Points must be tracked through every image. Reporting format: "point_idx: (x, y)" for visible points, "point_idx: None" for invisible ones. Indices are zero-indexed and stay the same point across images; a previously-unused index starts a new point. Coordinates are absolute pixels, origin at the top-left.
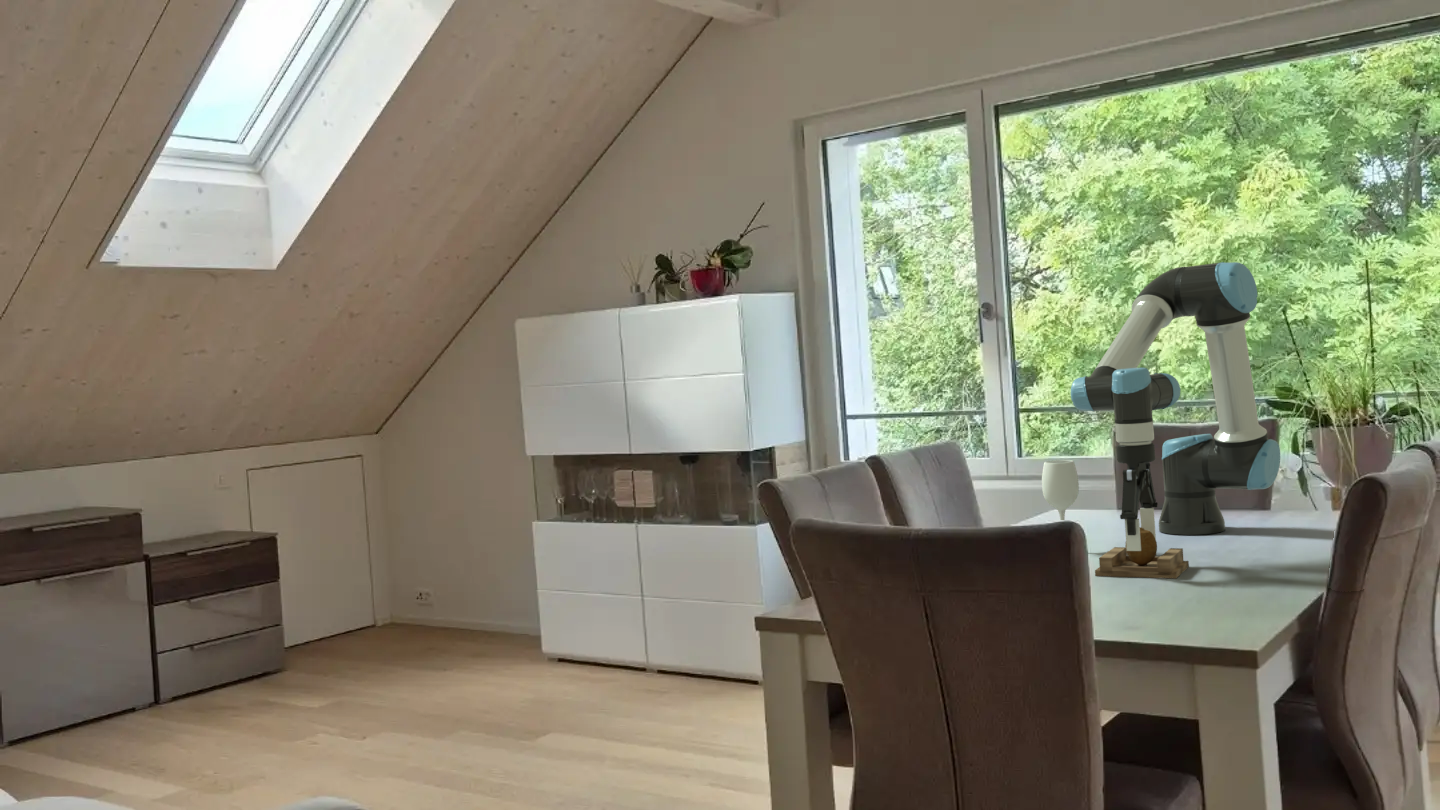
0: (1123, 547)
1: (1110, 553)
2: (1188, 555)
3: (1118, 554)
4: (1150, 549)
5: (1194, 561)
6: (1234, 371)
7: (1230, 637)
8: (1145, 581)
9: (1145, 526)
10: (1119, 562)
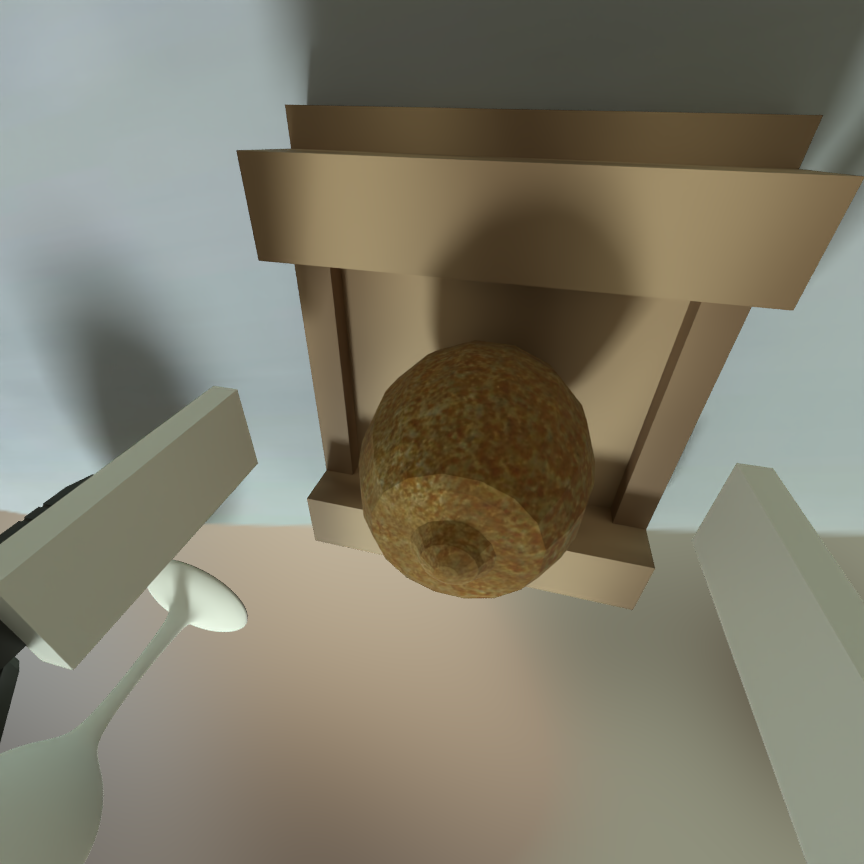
0: (312, 509)
1: None
2: (4, 183)
3: None
4: (569, 393)
5: (129, 104)
6: None
7: None
8: (844, 335)
9: (190, 500)
10: None
